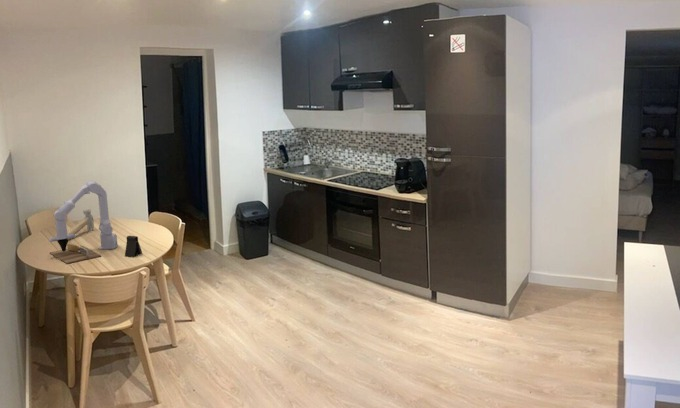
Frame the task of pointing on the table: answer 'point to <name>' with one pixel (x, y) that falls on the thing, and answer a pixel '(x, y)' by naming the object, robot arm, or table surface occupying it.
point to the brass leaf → (73, 247)
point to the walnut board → (74, 255)
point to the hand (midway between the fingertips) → (63, 251)
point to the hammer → (83, 223)
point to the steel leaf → (83, 251)
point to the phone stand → (132, 247)
